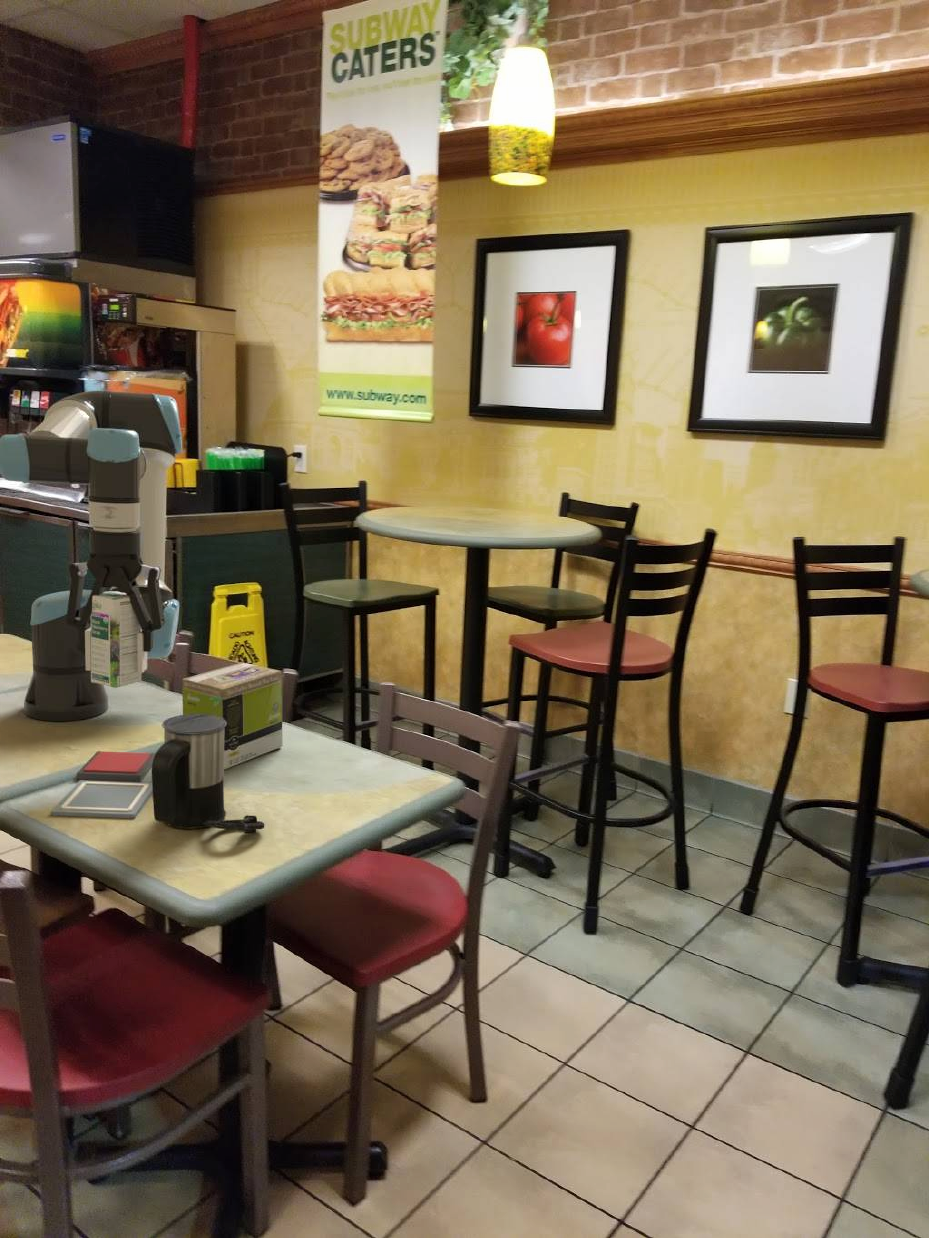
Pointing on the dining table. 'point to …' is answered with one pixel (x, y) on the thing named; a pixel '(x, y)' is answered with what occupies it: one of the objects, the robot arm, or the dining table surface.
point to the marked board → (104, 799)
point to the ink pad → (116, 767)
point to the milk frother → (193, 776)
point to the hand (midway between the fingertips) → (116, 669)
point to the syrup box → (114, 640)
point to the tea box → (239, 707)
